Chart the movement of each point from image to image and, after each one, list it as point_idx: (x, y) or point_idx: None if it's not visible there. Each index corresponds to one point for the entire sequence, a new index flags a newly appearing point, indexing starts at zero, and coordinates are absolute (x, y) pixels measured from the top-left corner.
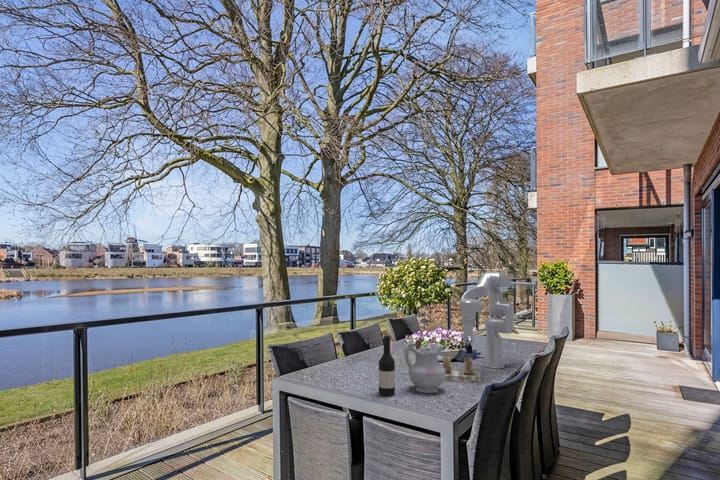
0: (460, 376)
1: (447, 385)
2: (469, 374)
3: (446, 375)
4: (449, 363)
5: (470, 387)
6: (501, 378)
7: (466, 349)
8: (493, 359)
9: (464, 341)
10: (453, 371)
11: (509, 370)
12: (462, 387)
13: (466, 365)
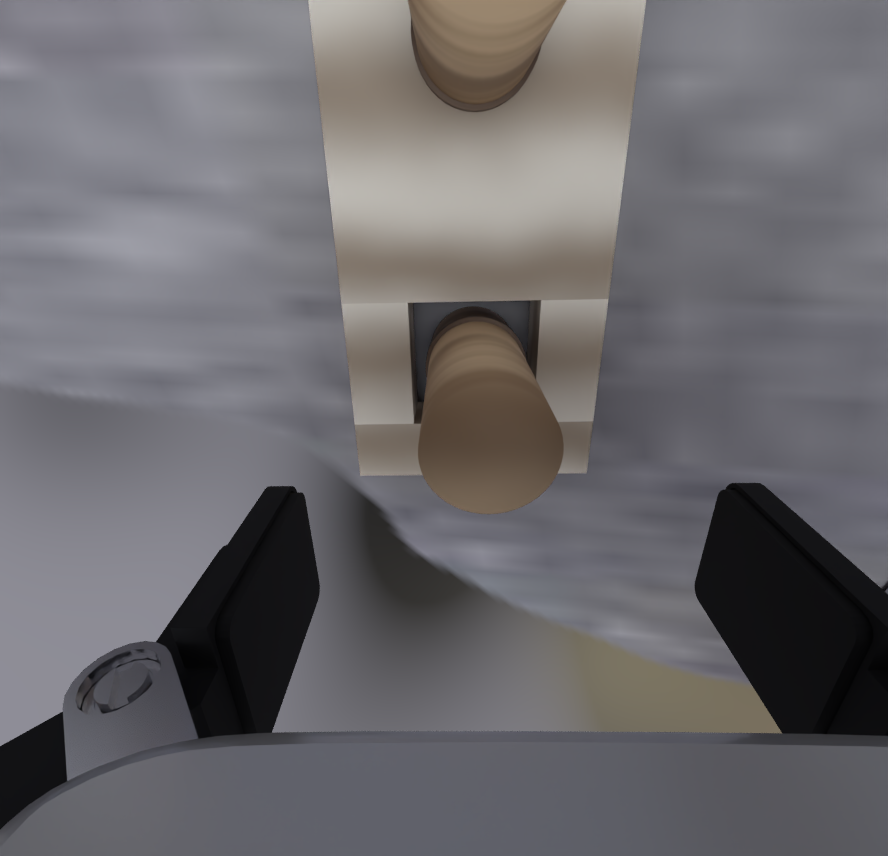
0: (336, 255)
1: (123, 68)
2: (427, 371)
3: (313, 27)
4: (427, 31)
5: (166, 347)
6: (546, 609)
7: (241, 542)
8: None
9: (58, 787)
10: (573, 156)
11: None
12: (127, 264)
13: (435, 371)
